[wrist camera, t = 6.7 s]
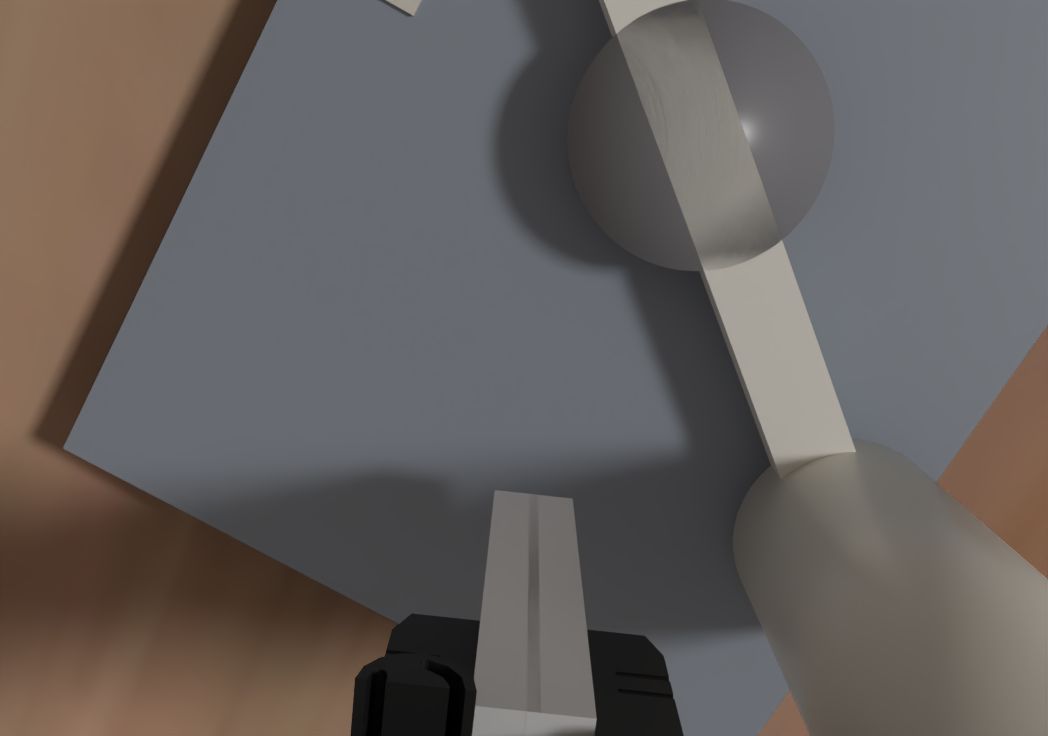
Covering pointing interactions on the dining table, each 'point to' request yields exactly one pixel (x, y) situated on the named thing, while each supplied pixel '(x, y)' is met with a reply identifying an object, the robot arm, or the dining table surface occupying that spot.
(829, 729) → the needle
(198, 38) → the dining table surface
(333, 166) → the dial plate
